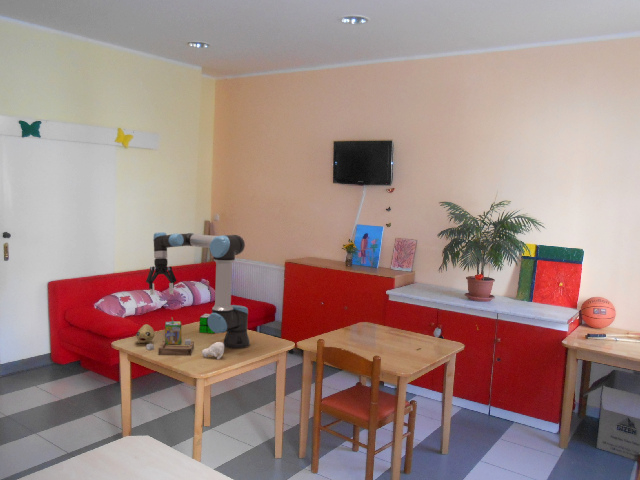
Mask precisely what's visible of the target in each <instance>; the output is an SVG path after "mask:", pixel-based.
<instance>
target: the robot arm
mask: <svg viewBox="0 0 640 480" xmlns="http://www.w3.org/2000/svg"><path fill="white" fill-rule="evenodd" d="M152 241H153V256H154V260H153V261H154V262H153V263H154V266H150V267H149V273H148V274H147V277H146V280H145V282H146V283H147V284H148V285H149V286H148V287H149V288H148V289H149V293H150V295H149V296H152V295H153V296H154V295H155V283H154V281H155V280H156V279H157V277H158V276H159V275H163V276H165V277H166V279H167V281H169V283H168V285H169V287H168V289H169V295H173V294H174V288H175V283H176V282H177V281H178V280H177V278H176V276H175V275H176V274H175V273H174V271H173V267H172V266H168V248H176V247H179V248H180V247H197V248H208V249H209V253H211V256H213V261H214V262H215V265H216V266H215V293H214V294H215V295H214V296H215V297H214V301H215V302H214V305H213V306H212V307H211V308H212V309H211V313H210V316H209V317H208V326H209V328H211V330H212V331H213V332H215V334H223V333H225V335H224V338H223V342H222V343H223V344H224V347H226V348H230V349H243V348H248V347H249V346H250V345H251V344H250V343H251V342H250V338H249V334H248V321H249V320H248V318H249V309H248V307H246V306H245V305H244V306H243V305H238V304H237V305H236V304H232V303H231V302H232V273H233V271H232V270H233V267H232V266H233V263H234V261H236V256H238V255H240V254H241V253H243V252H244V250H245V247H246V242H245V240H244V239H243V237H241V236H240V235H237V234H228V235H227V234H226V235H212V234H211V235H210V234H198V233H197V234H196V233H193V232H189V233H173V234H167V233H166V232H154V234H153V240H152Z"/></svg>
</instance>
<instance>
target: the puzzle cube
mask: <svg viewBox="0 0 640 480" xmlns="http://www.w3.org/2000/svg"><path fill="white" fill-rule="evenodd" d="M210 314H211V313H210ZM210 314H209V313H204V314H203V315H201V316H200V317H199V327H198V328H199V331H198V333H201V334H213V335H216V333H215V332H213V331H212V330H211V328H209V326H208V317H209V316H210Z"/></svg>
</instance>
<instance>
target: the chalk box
mask: <svg viewBox="0 0 640 480" xmlns="http://www.w3.org/2000/svg"><path fill="white" fill-rule="evenodd" d="M164 341H166V345H169V346H171V345H182V321H174V319H173V318H171V321H165V325H164Z"/></svg>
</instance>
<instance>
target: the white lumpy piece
mask: <svg viewBox="0 0 640 480" xmlns="http://www.w3.org/2000/svg"><path fill="white" fill-rule="evenodd" d="M224 352H225V346H224V344H223V342H222V341H217V342H214V343H212V344H211V345H210V346H209V347H207V348H204V349H202V351H201V355H202V356H203V357H204V358H208V356H212V357H215V358H216V360H220V359H221V358H222V356H223V354H224Z"/></svg>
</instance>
